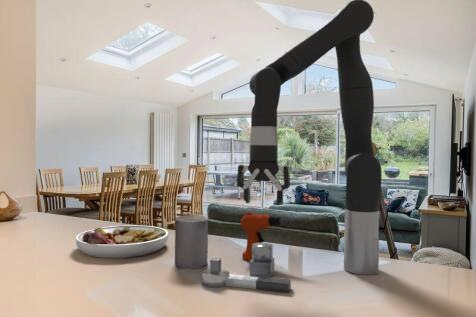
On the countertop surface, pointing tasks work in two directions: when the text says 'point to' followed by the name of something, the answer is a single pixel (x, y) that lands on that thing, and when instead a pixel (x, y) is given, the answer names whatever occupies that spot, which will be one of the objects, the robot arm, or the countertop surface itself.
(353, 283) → the countertop surface
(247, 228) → the toy drill
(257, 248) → the cylinder on square block
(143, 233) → the bowl
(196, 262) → the pillar candle
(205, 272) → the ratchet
